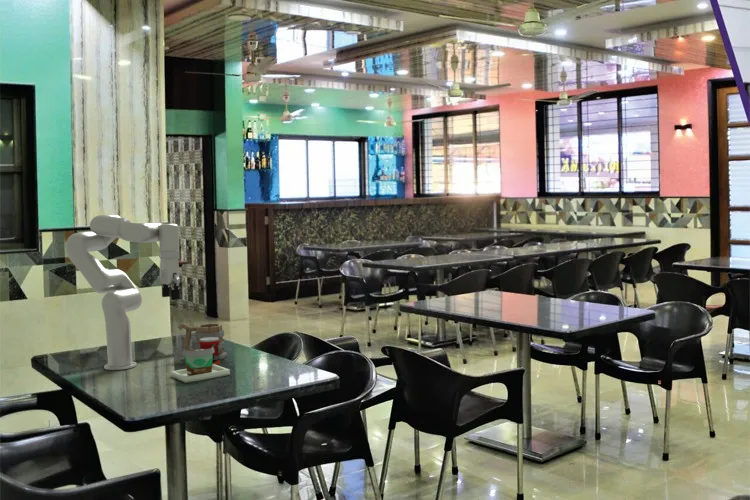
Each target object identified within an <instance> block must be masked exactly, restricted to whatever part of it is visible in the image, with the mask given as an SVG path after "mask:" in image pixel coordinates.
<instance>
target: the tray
mask: <svg viewBox="0 0 750 500" xmlns="http://www.w3.org/2000/svg"><path fill="white" fill-rule="evenodd" d="M230 371H231V369H230V368H227V367H223V366H221V365H219V366H218V365H215V364H212V372H210V373H204V374H199V375H193V376H188V375H187V369H186V368H182V369H178V370H171V371H170V377H172V378H173V379H175V380H178V381H181V382H183V383H193V382H197V381H203V380H208V379H214V378H221V377H224V376H230V375H231V372H230Z"/></svg>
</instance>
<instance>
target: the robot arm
mask: <svg viewBox="0 0 750 500" xmlns="http://www.w3.org/2000/svg"><path fill="white" fill-rule="evenodd" d="M89 228H90V230H87V231H79V232H75V233H73V234H71V235H70V236H69V237H68V238H67V240H66V243H65V250H66V254H67V256H68V259H69V260H70V262H71V263H72V264H73V265H74V266H75V267H76V268H77V270H78V271H79V272H80V273H81V274H82V276H83V277H84V279H85V280H86V281H87V282H88V285H90V287H91V288H92V290H93V291H94V292H96V293H97V294H104V295H103V297H102V299H101V309H102V311H103V316H104V321H105V335H106V352H107V355H106V356H107V363H106V364H105V365H104V367H103V368H104V369H105V370H108V371H121V370H128V369H133V368H134V367H137V362H136V361H133V353H132V351H133V350H132V349H133V348H132V336H131V335H132V333H131V332H132V331H131V321H130V319H129V316H128V314H127V313H128V312H131V311H135V310H137V309H139V308H140V307H141V306H142V304H143V303H142V302H143V297H142V295H141V292H140V290H138V288H137V287H136V285H135V284H134V282H133V281H132V280H131V279H130V278H129V275H127V274H126V272H125V271H123V270H121V269H118V268H109V269H107V268H105V267H104V265H103V264H102V263H101V261H100V260H99V259H98V258H97V257H95V256H94V255H92V254H91V253H90V252H99V251H102V250H104V249H107V247H109V245H110V244H111V243H112V242H114V241H115V240H116V239H119V240H120V239H121V240H123V241H126V242H133V243H139V244H140V243H141V244H146V243H147V244H148V243H155V242H159V243H158V245H159V282H160V283H161V297H162V298H170V300H172V301H175V300H176V301H177V300H180V286H181V285H180V283H181V279H180V264H179V259H180V229H179V225H178V224H177V223H163V222H147V223H146V222H145V223H137V222H132V221H130V219H129V218H126V217H121V216H120V215H117V214H100V215H95V216H94V217H93V218H92V219H91V220H90V222H89Z"/></svg>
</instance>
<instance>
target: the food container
mask: <svg viewBox="0 0 750 500" xmlns="http://www.w3.org/2000/svg"><path fill="white" fill-rule="evenodd" d="M214 352H215V351H214V348H213V346H212V348H210V349H197V350H193V351H188V350H185V349H183V350H182V356H184V361H185V369H187V375H188V376H193V375H199V374H204V373H210V372H212V361H213V353H214Z"/></svg>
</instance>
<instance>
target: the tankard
mask: <svg viewBox="0 0 750 500" xmlns="http://www.w3.org/2000/svg"><path fill="white" fill-rule="evenodd" d="M177 328H178V330H179V331H181V330H183V329H184V330H185V337H184V341H183V348H184V350H188V351H193V350H197V349H200V339H201V338H206V337H218V338H219V345H220V360H223V359H225V358H226V357H227V356H228V352H226V351H224V348H225V346H226V344H225V341H224V338H223V337H224V336H225V331H224V329H223V324H221V323H203V324H199V325H196V326H191V325H188V324H186V323H181V324H180V325H179V326H177ZM192 332H194V338H195V339H196V343H195V348H191V346H190V342H191V339H192Z"/></svg>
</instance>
